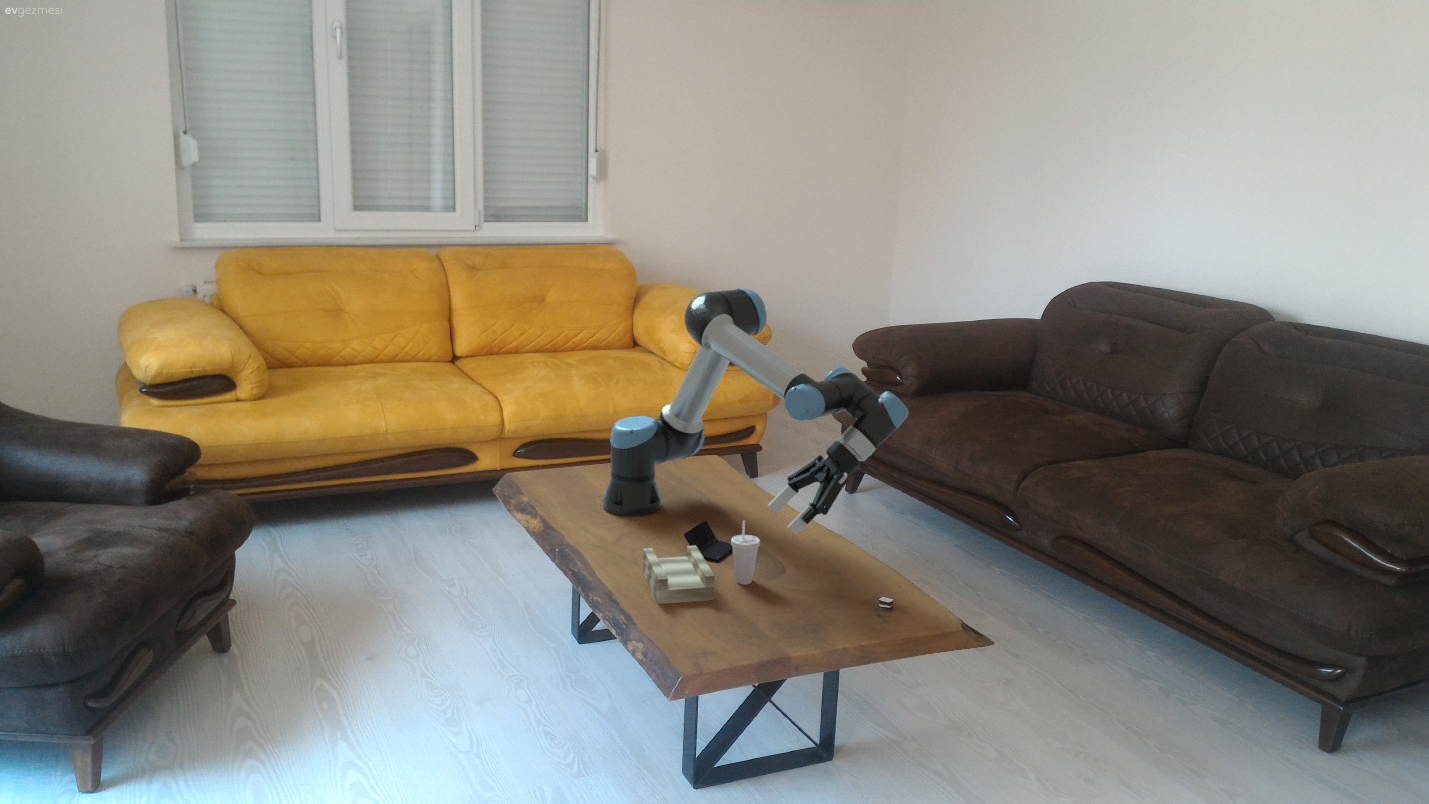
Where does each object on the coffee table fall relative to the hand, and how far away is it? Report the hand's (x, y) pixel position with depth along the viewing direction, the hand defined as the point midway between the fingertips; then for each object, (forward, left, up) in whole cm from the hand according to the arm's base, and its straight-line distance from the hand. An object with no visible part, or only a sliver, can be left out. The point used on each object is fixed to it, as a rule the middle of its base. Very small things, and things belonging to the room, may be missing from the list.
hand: (781, 520), depth 223 cm
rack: (-1, -23, -14) cm, 27 cm away
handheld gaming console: (-19, -11, -14) cm, 26 cm away
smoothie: (-1, -8, -14) cm, 16 cm away
